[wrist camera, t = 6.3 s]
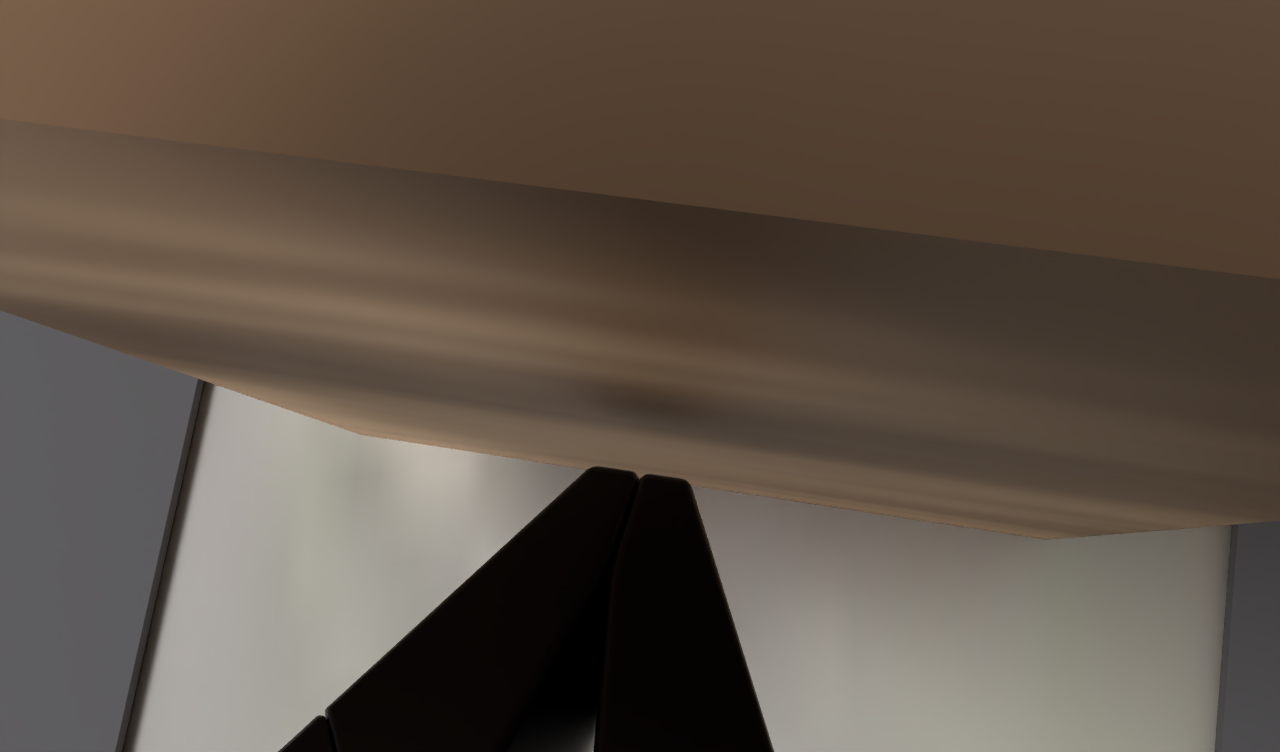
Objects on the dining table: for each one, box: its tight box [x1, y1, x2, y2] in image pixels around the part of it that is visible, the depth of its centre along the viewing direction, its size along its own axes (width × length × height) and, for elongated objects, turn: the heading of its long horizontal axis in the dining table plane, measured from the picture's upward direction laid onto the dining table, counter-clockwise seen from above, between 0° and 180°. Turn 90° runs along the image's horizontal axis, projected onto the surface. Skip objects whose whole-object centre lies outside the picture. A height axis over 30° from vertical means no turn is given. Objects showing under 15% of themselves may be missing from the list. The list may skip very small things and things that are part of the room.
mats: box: [0, 310, 1280, 752], centre depth 16 cm, size 8×25×1 cm, turn 81°
